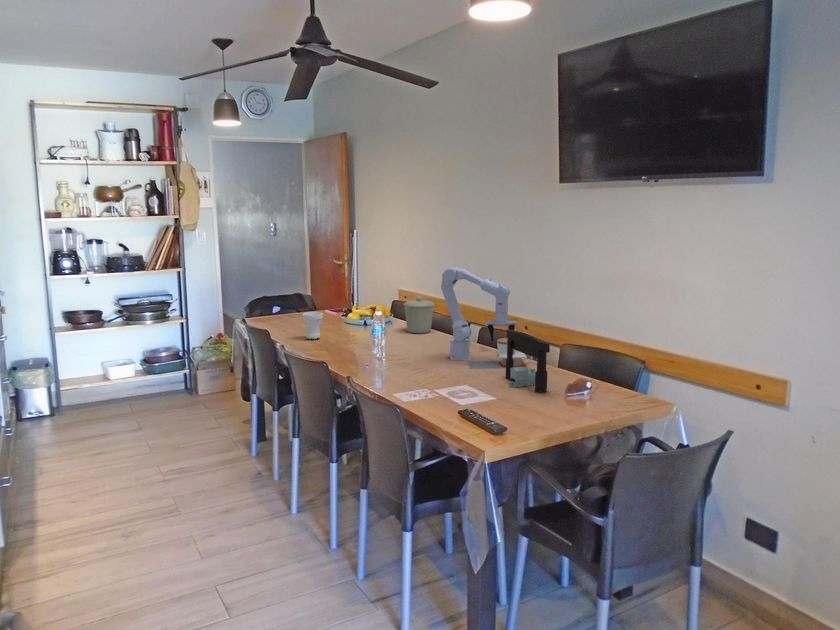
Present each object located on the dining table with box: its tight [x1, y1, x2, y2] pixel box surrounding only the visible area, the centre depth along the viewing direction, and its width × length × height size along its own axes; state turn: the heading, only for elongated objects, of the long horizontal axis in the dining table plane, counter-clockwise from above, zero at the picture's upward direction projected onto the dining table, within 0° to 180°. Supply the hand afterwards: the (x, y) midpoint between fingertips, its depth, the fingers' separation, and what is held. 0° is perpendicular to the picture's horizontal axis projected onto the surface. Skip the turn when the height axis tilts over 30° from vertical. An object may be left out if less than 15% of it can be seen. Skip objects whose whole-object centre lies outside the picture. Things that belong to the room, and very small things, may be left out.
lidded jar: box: [496, 337, 517, 351], centre depth 321 cm, size 11×11×9 cm
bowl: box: [500, 358, 523, 368], centre depth 303 cm, size 9×9×4 cm
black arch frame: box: [505, 328, 551, 393], centre depth 269 cm, size 16×21×33 cm
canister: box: [403, 295, 436, 334], centre depth 379 cm, size 18×18×21 cm
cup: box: [301, 311, 324, 340], centre depth 359 cm, size 11×11×14 cm
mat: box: [466, 360, 501, 370], centre depth 302 cm, size 14×14×1 cm
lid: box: [496, 349, 528, 359], centre depth 302 cm, size 12×12×5 cm
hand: (500, 341), depth 306 cm, fingers open, 7 cm apart
